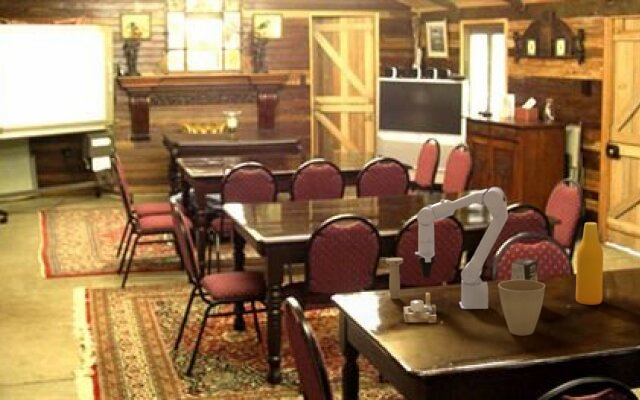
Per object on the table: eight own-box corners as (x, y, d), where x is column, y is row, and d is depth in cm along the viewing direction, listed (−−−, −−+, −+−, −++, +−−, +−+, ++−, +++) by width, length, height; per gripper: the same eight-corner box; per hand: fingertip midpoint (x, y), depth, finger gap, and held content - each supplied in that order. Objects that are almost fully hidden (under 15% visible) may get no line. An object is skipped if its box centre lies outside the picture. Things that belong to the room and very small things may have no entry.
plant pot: (527, 323, 315) (528, 277, 313) (553, 335, 301) (554, 287, 299) (489, 328, 310) (489, 282, 308) (513, 341, 296) (514, 293, 294)
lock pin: (429, 305, 337) (429, 292, 336) (432, 313, 326) (432, 301, 325) (425, 305, 337) (425, 292, 336) (428, 313, 326) (428, 301, 325)
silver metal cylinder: (426, 316, 325) (426, 300, 324) (423, 321, 320) (422, 304, 319) (411, 315, 327) (411, 299, 325) (408, 320, 322) (407, 303, 321)
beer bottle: (574, 303, 337) (576, 225, 332) (577, 297, 345) (579, 220, 341) (600, 306, 333) (603, 226, 329) (603, 299, 342) (605, 221, 337)
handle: (404, 299, 348) (404, 260, 345) (388, 300, 346) (387, 261, 344) (401, 295, 352) (400, 257, 350) (384, 297, 351) (384, 258, 349)
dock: (435, 310, 332) (435, 302, 332) (438, 322, 318) (438, 314, 318) (402, 311, 332) (402, 303, 332) (405, 322, 319) (405, 314, 318)
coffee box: (526, 309, 332) (527, 264, 329) (510, 306, 336) (510, 262, 333) (537, 303, 339) (538, 259, 336) (521, 300, 343) (521, 257, 340)
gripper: (413, 236, 345) (413, 272, 347) (416, 245, 331) (416, 282, 333) (432, 236, 345) (432, 272, 347) (436, 244, 330) (436, 282, 333)
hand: (426, 277), depth 340 cm, fingers closed
